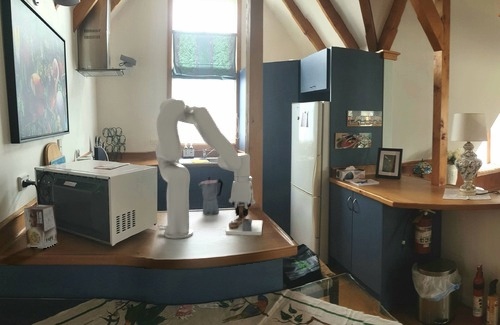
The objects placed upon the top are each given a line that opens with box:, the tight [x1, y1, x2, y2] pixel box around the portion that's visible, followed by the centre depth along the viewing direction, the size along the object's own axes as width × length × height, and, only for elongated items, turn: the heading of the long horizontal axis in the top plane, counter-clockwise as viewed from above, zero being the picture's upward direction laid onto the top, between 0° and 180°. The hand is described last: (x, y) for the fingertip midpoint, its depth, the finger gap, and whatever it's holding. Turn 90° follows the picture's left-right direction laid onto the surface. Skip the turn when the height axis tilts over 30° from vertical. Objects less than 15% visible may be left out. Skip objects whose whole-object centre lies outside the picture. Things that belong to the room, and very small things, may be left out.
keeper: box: [230, 218, 253, 231], centre depth 157 cm, size 10×6×4 cm, turn 86°
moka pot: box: [198, 176, 224, 215], centre depth 189 cm, size 10×15×20 cm, turn 133°
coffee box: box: [23, 204, 58, 249], centre depth 138 cm, size 9×6×16 cm
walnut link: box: [228, 204, 247, 228], centre depth 163 cm, size 15×4×8 cm, turn 161°
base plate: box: [225, 219, 263, 236], centre depth 162 cm, size 16×18×2 cm
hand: (241, 215), depth 169 cm, fingers open, 3 cm apart
